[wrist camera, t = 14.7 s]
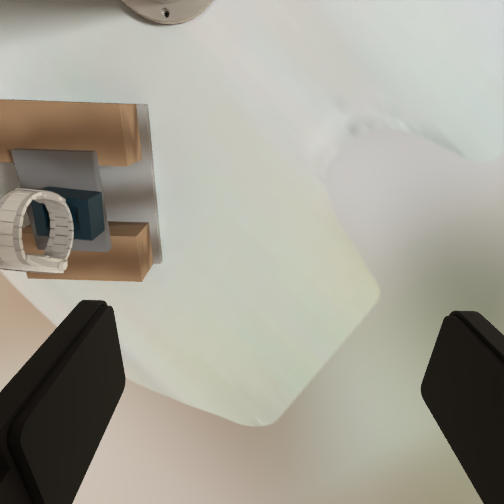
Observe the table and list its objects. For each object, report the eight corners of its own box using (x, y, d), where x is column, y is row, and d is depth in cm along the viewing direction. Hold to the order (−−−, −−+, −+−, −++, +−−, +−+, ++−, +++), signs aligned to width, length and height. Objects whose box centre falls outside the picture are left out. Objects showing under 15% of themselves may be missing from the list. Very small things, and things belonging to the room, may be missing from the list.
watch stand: (7, 99, 37) (-46, 98, 30) (147, 104, 37) (124, 104, 30) (48, 257, 45) (13, 282, 38) (162, 260, 45) (147, 286, 39)
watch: (56, 241, 36) (-18, 293, 26) (45, 169, 33) (-46, 197, 23) (107, 246, 36) (51, 299, 26) (100, 175, 33) (35, 205, 23)
